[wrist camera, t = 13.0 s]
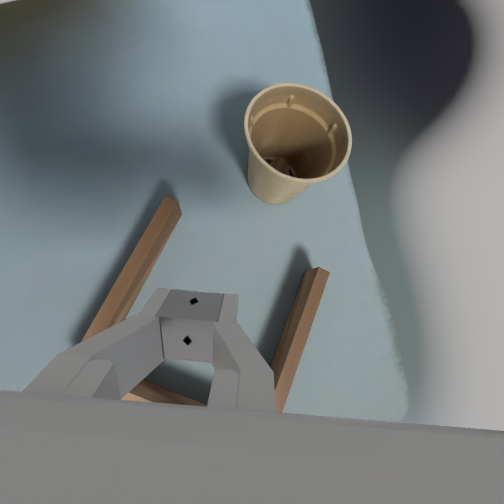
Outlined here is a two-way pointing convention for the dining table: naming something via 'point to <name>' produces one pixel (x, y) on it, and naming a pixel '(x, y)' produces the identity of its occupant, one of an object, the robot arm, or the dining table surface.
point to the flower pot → (293, 140)
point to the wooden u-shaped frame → (136, 276)
